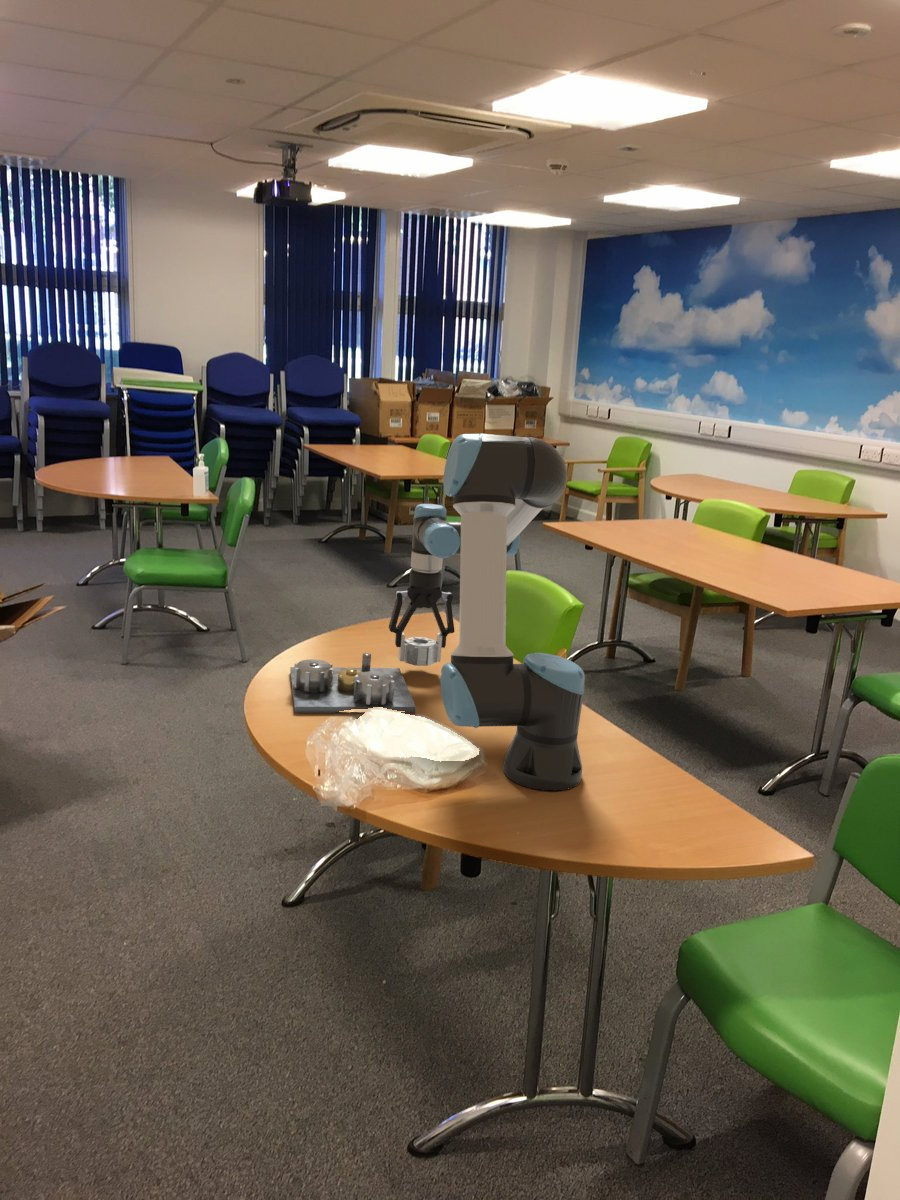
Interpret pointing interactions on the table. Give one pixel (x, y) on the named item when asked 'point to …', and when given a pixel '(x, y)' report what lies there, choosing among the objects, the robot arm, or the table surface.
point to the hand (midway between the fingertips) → (419, 659)
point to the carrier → (347, 687)
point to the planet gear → (420, 651)
